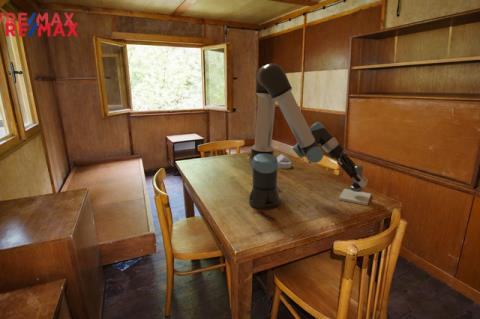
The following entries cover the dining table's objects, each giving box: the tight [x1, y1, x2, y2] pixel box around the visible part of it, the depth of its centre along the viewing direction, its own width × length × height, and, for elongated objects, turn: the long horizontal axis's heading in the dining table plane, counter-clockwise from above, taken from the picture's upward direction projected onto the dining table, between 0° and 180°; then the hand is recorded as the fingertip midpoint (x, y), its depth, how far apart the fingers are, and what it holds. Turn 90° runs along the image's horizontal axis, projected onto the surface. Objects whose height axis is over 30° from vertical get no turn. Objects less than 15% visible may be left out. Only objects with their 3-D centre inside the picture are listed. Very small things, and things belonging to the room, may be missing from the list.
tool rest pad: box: [338, 188, 372, 206], centre depth 136 cm, size 13×13×1 cm
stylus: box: [348, 164, 365, 192], centre depth 133 cm, size 6×6×12 cm
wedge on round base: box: [276, 154, 292, 170], centre depth 188 cm, size 9×7×13 cm
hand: (365, 184), depth 132 cm, fingers closed on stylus, 4 cm apart
